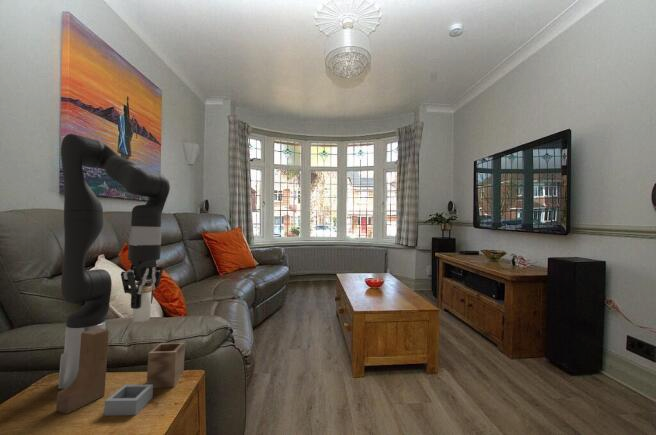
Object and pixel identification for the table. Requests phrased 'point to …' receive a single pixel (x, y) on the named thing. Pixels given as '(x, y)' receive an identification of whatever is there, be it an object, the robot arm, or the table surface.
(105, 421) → the table surface
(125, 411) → the low socket
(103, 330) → the wooden block
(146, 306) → the white and tan cylinder
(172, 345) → the socket tower
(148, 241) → the robot arm
